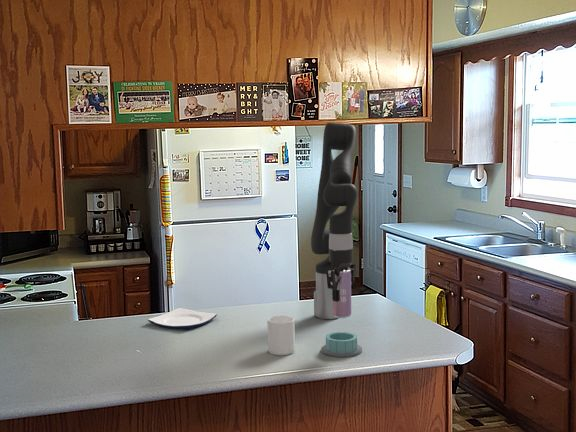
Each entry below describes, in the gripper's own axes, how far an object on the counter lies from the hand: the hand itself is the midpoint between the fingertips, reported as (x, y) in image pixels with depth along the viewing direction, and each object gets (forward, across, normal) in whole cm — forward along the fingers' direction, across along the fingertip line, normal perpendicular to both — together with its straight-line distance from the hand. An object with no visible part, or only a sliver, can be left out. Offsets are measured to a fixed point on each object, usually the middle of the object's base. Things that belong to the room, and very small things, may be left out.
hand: (341, 298), depth 228 cm
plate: (+18, +4, -67) cm, 69 cm away
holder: (+17, 0, 0) cm, 17 cm away
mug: (+17, +10, -17) cm, 26 cm away
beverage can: (+6, 0, 0) cm, 6 cm away
